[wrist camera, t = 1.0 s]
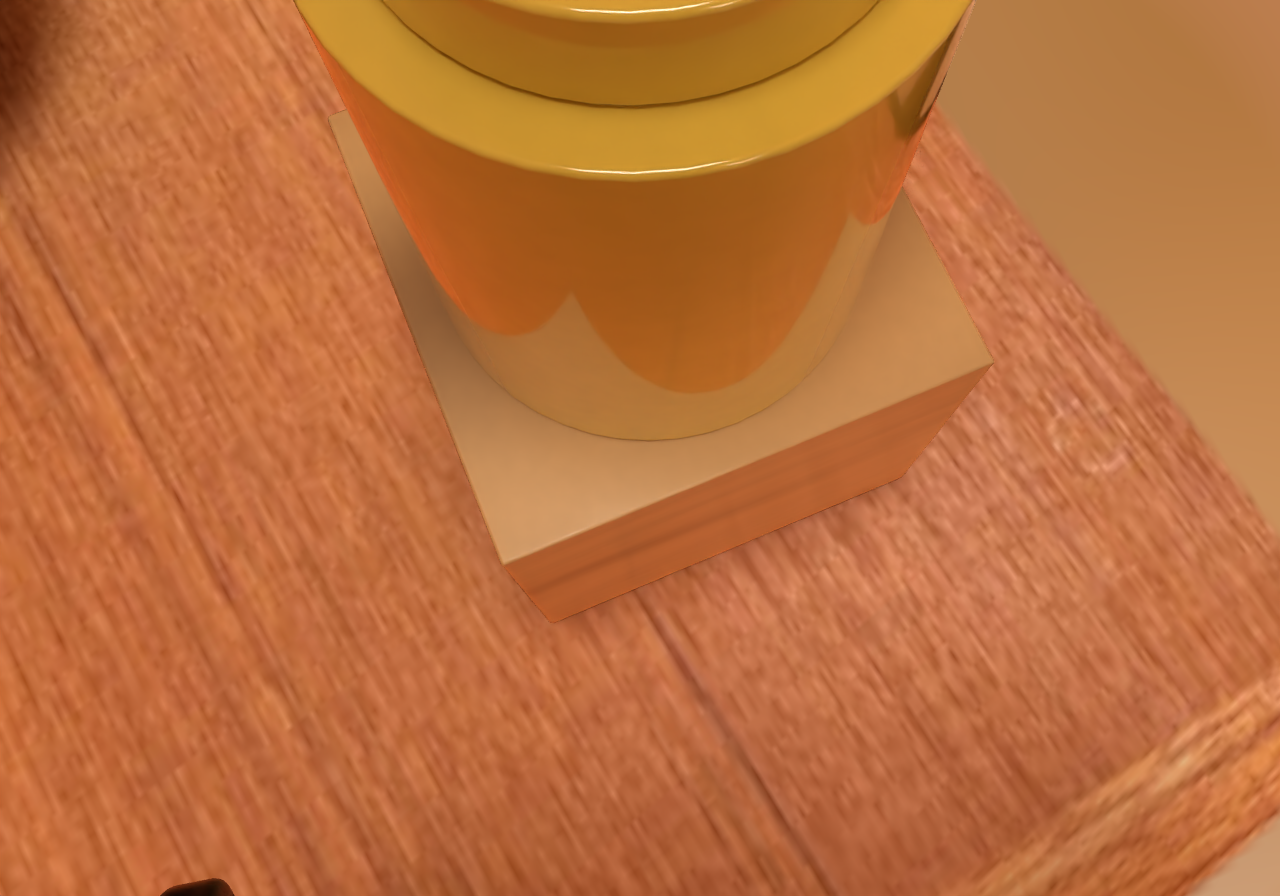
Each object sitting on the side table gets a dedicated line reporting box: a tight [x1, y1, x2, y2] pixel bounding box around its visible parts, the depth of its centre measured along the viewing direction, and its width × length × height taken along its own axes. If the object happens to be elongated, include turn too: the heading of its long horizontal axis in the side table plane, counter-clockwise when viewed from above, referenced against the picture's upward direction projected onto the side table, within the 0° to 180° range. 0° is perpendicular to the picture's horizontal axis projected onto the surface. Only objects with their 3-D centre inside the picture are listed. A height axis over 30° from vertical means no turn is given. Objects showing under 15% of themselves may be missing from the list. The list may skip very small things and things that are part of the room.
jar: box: [293, 0, 976, 441], centre depth 13 cm, size 6×6×9 cm
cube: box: [328, 109, 994, 623], centre depth 21 cm, size 8×8×7 cm
